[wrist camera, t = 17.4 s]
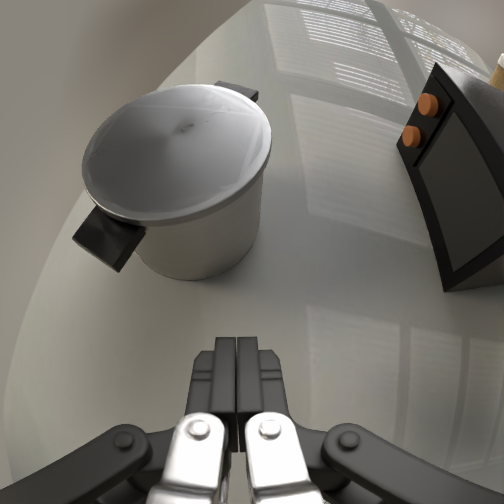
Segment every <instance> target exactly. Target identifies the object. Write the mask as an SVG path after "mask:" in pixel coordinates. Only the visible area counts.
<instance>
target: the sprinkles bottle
mask: <svg viewBox="0 0 504 504" xmlns="http://www.w3.org/2000/svg"><path fill="white" fill-rule="evenodd" d="M487 84H489V85H491V86H493V87H495V88H497V89H499V90H501V91H503V92H504V54H502V55H501V56H500V58H499V60H498V64H497V68H496V69H495V71H494V73H493V75H492V76H491V78H490V80H489V81H488V83H487Z"/></svg>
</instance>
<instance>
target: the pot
mask: <svg viewBox="0 0 504 504" xmlns="http://www.w3.org/2000/svg"><path fill="white" fill-rule="evenodd" d="M257 100H258V91H257V90H254V89H250V88H246V87H243V86H239V85H235V84H231V83H227V82H223V81H218V82H217V83H215V84H214V85H204V84H189V85H179V86H172V87H167V88H163V89H160V90H156V91H153V92H151V93H148V94H145V95H143V96H141V97H139V98H137V99H135V100H133V101H131V102H129V103H127V104H126V105H124V106H123V107H121V108H120V109H118V110H117V111H116V112H115V113H113V114H112V115H111V116H110V117H109V118H107V120H105V121H104V122H103V123H102V125H101V126H100V127H99V128H98V129H97V131H96V132H95V134H94V135H93V136H92V138H91V140H90V142H89V144H88V146H87V148H86V150H85V154H84V156H83V162H82V178H83V184H84V186H85V189H86V191H87V193H88V194H89V196H90V197H91V199H92V200H93V202H94V203H95V204H96V206H95V208H94V209H93V210H92V211H91V213H90V214H89V215H88V217H87V218H86V219H85V221H84V222H83V223H82V225H81V226H80V227H79V229H78V230H77V232H76V233H75V234H74V236H73V237H72V239H73V240H74V241H75V242H76V243H77V244H78V245H79V246H80V247H82V248H83V249H84V250H86V251H87V252H89V253H90V254H91V255H93V256H94V257H96V258H97V259H99V260H100V261H101V262H103V263H104V264H106V265H107V266H109V267H110V268H112V269H113V270H115V271H116V272H118V273H119V272H120V271H121V269H122V268H123V266H124V265H125V263H126V262H127V260H128V259H129V257H130V256H131V255H132V253H133V252H134V250H135V251H136V252H137V254H138V255H139V256H140V258H141V259H142V260H143V261H144V262H145V263H146V264H147V265H148V266H149V267H150V268H151V269H153V270H154V271H156V272H158V273H160V274H162V275H164V276H167V277H170V278H173V279H179V280H199V279H204V278H209V277H212V276H215V275H218V274H220V273H222V272H224V271H226V270H227V269H229V268H230V267H232V266H234V265H235V264H236V263H237V262H238V261H240V260H241V259H242V258H243V256H244V255H245V254H246V253H247V252H248V250H249V249H250V247H251V246H252V244H253V242H254V240H255V238H256V235H257V232H258V228H259V220H260V208H261V196H262V184H263V172H264V169H265V167H266V165H267V163H268V160H269V157H270V152H271V145H272V132H271V128H270V124H269V122H268V120H267V117H266V116H265V114H264V113H263V111H262V110H261V109H260V108H259V107H258V106H257V105H256V104H255V102H256V101H257Z"/></svg>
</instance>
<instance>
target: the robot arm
mask: <svg viewBox="0 0 504 504" xmlns="http://www.w3.org/2000/svg"><path fill="white" fill-rule="evenodd" d="M192 371H193V372H192V375H191V381H190V387H189V393H188V398H187V404H186V410H185V415H184V417H183V418H181V419H180V420H179V421H178V423H177V424H176V426H175V427H173V428H171V429H168V430H165V431H160V432H154V433H147V434H146V433H145V432H144V431H143V430H142V429H141V428H139V427H137V426H135V425H131V424H121V425H117V426H114V427H113V428H111V429H109V430H108V431H106V432H104V433H103V434H101V435H100V436H98V437H96V438H95V439H93V440H91V441H90V442H88V443H86V444H85V445H83V446H81V447H80V448H78V449H76V450H75V451H73V452H71V453H69V454H68V455H66V456H64V457H62V458H61V459H59V460H57V461H55V462H54V463H52V464H50V465H48V466H46V467H44V468H43V469H41V470H39V471H37V472H35V473H33V474H31V475H29V476H27V477H25V478H23V479H22V480H20V481H18V482H16V483H14V484H12V485H9V486H7V487H5V488H3V489H1V490H0V504H227V498H228V488H229V478H230V469H231V452H238V431H239V446H240V452H246V470H247V479H248V487H249V494H250V501H251V504H324V502H323V499H325V500H326V501H327V502H329V503H330V504H504V494H501V493H498V492H495V491H493V490H490V489H488V488H485V487H482V486H480V485H477V484H475V483H473V482H470V481H468V480H465V479H463V478H461V477H458V476H456V475H454V474H452V473H450V472H447V471H445V470H443V469H441V468H439V467H437V466H435V465H432V464H430V463H428V462H426V461H424V460H422V459H420V458H418V457H416V456H414V455H412V454H411V453H409V452H407V451H405V450H403V449H401V448H399V447H397V446H395V445H394V444H392V443H390V442H388V441H386V440H384V439H383V438H381V437H379V436H377V435H376V434H374V433H372V432H370V431H369V430H367V429H365V428H363V427H362V426H360V425H357V424H352V423H343V424H339V425H336V426H334V427H332V428H331V429H330V430H329V431H328V432H325V431H317V430H311V429H307V428H304V427H302V426H300V425H298V424H297V423H296V422H294V421H293V419H292V418H291V416H290V414H289V411H288V405H287V400H286V394H285V388H284V382H283V377H282V371H281V365H280V360H279V358H278V356H277V355H276V354H275V353H274V352H273V350H258V341H257V337H237V354H236V337H216V339H215V349H214V351H201V352H200V353H199V355H198V356H197V357H196V358H195V360H194V364H193V370H192ZM322 498H323V499H322Z"/></svg>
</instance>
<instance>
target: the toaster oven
mask: <svg viewBox="0 0 504 504" xmlns="http://www.w3.org/2000/svg"><path fill="white" fill-rule="evenodd" d="M396 145H397V148H398V150H399V152H400V154H401V157H402V159H403V162H404V164H405V166H406V169H407V171H408V174H409V176H410V179H411V181H412V184H413V187H414V189H415V192H416V195H417V198H418V201H419V203H420V206H421V209H422V212H423V215H424V218H425V221H426V225H427V228H428V231H429V235H430V238H431V241H432V245H433V249H434V252H435V256H436V260H437V264H438V268H439V272H440V277H441V281H442V286H443V290H444V292H452V291H460V290H468V289H475V288H482V287H489V286H496V285H503V284H504V92H503V91H501V90H499V89H497V88H495V87H493V86H491V85H489V84H487V83H485V82H483V81H481V80H479V79H477V78H475V77H472V76H470V75H468V74H466V73H463V72H461V71H459V70H456V69H454V68H451V67H449V66H446V65H443V64H441V63H438V62H435V65H434V67H433V69H432V71H431V74H430V76H429V78H428V80H427V83H426V85H425V87H424V89H423V91H422V93H421V95H420V97H419V100H418V102H417V104H416V106H415V108H414V110H413V112H412V114H411V116H410V118H409V120H408V122H407V124H406V126H405V128H404V130H403V132H402V134H401V136H400V138H399V140H398V142H397V144H396Z"/></svg>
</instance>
